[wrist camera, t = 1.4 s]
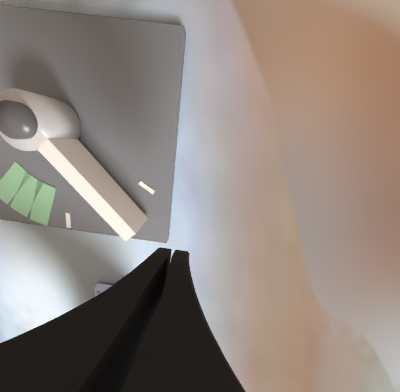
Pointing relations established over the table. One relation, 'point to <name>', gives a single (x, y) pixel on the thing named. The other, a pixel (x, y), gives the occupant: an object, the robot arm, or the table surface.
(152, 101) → the dial base
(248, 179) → the table surface
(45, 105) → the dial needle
